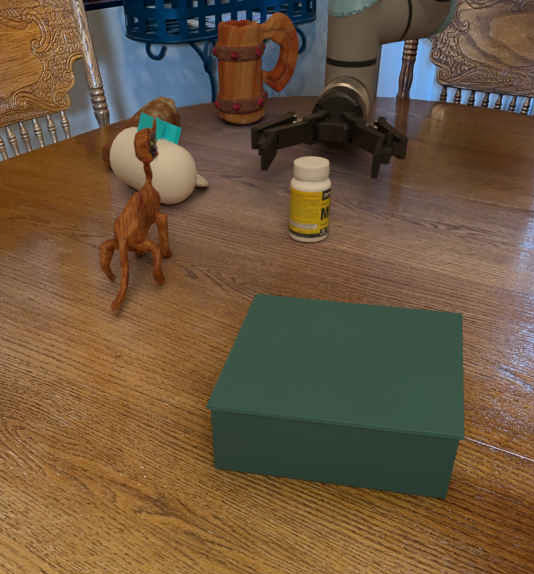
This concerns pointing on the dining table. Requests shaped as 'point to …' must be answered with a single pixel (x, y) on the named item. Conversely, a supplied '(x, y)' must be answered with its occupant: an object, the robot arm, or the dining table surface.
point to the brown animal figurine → (138, 222)
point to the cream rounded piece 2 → (157, 162)
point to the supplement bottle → (310, 199)
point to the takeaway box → (342, 395)
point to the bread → (154, 108)
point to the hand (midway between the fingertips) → (318, 163)
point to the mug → (252, 65)
